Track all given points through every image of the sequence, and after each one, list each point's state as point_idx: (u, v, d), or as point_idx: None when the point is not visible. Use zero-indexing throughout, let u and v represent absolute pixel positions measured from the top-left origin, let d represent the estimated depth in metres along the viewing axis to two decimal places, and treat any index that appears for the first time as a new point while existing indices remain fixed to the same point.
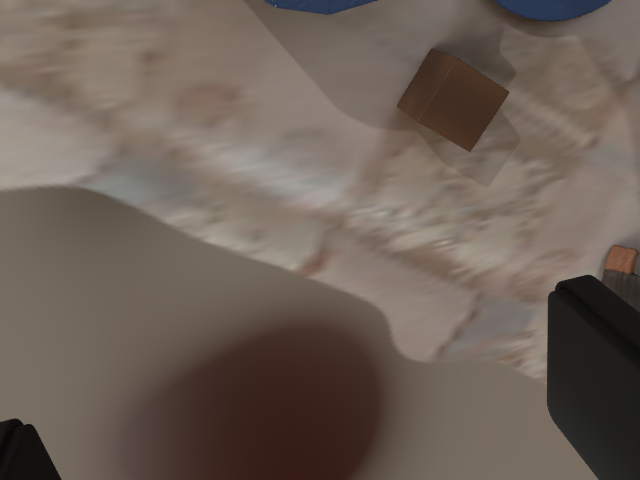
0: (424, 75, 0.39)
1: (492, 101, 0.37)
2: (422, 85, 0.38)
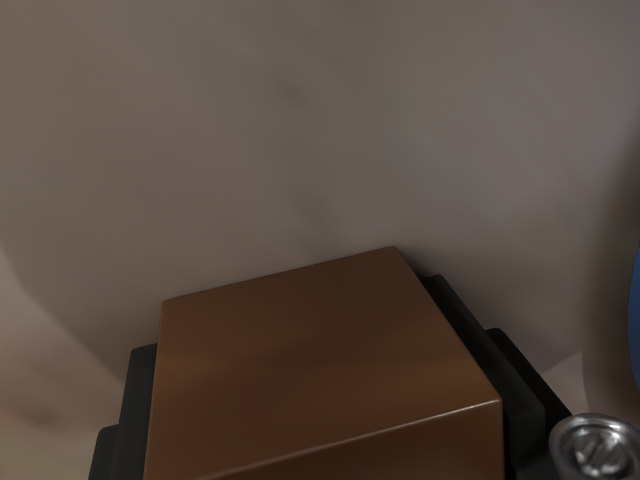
0: (316, 309, 0.09)
1: None
2: (287, 338, 0.09)
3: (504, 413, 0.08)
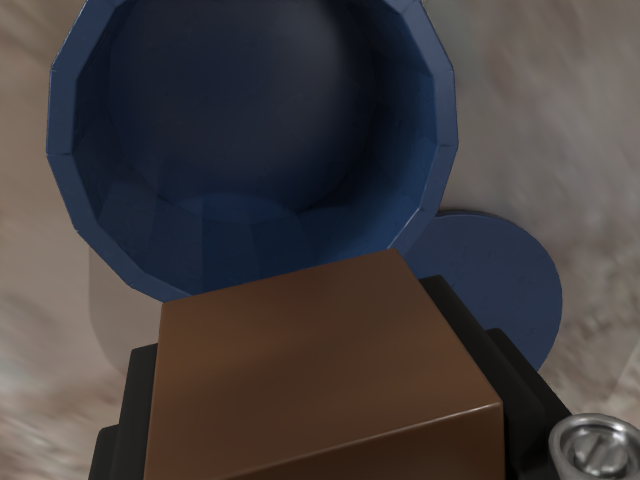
0: (316, 311, 0.09)
1: None
2: (287, 340, 0.09)
3: (504, 413, 0.08)
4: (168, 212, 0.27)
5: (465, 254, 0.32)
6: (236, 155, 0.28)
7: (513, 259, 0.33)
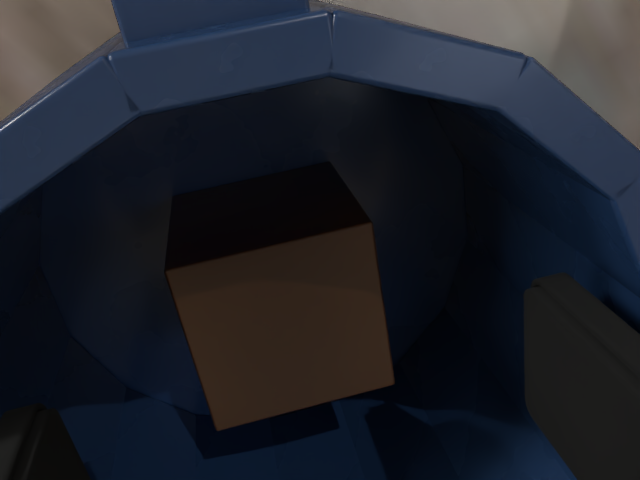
0: (272, 193, 0.15)
1: (351, 373, 0.14)
2: (252, 207, 0.14)
3: None
4: (142, 427, 0.17)
5: None
6: None
7: None
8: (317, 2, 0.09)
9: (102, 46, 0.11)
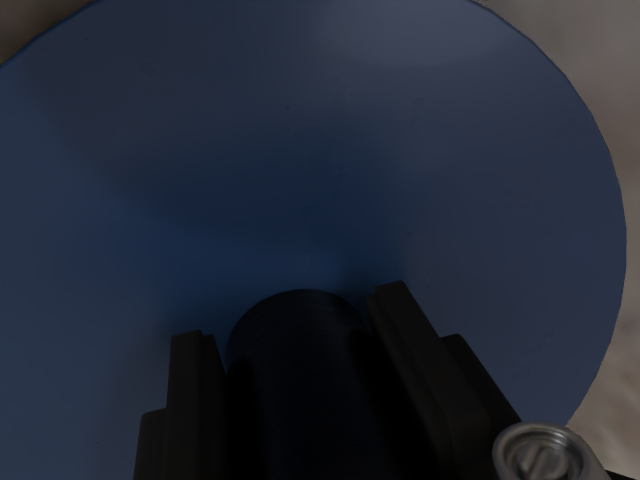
0: None
1: None
2: None
3: (450, 421, 0.08)
4: None
5: (341, 106, 0.10)
6: None
7: (492, 131, 0.11)
8: None
9: None
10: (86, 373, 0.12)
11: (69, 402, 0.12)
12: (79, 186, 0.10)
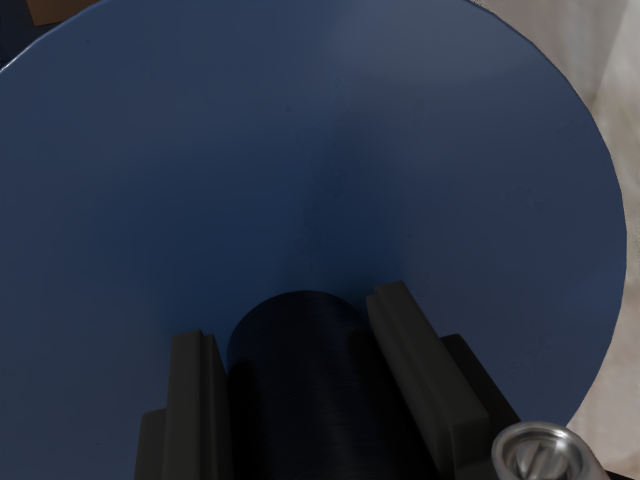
0: None
1: None
2: None
3: (449, 420, 0.08)
4: None
5: (342, 108, 0.10)
6: None
7: (492, 133, 0.11)
8: None
9: None
10: (86, 374, 0.12)
11: (70, 403, 0.12)
12: (80, 188, 0.10)
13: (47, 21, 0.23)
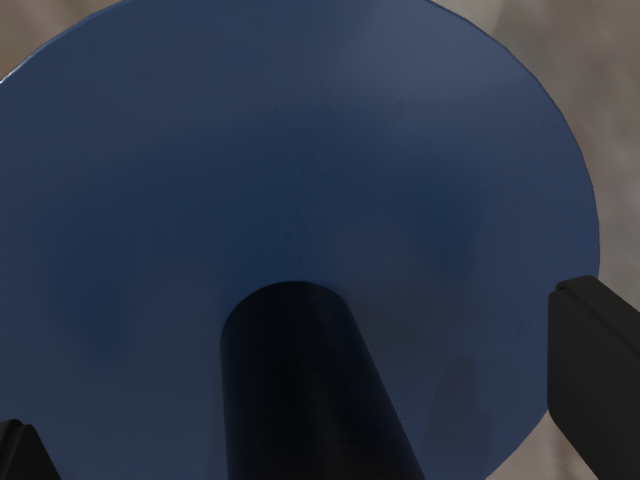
0: None
1: None
2: None
3: None
4: None
5: (326, 109, 0.11)
6: None
7: (469, 131, 0.12)
8: None
9: None
10: (88, 360, 0.12)
11: (73, 389, 0.12)
12: (82, 184, 0.11)
13: None
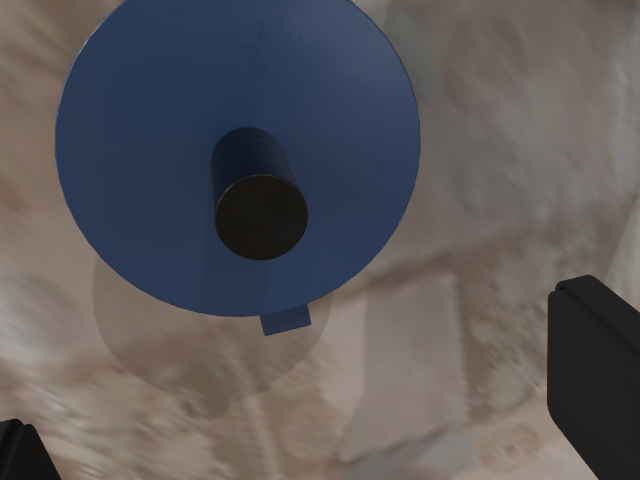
0: None
1: None
2: None
3: None
4: None
5: (263, 33, 0.22)
6: None
7: (337, 46, 0.23)
8: None
9: None
10: (142, 168, 0.23)
11: (133, 184, 0.24)
12: (143, 68, 0.22)
13: None
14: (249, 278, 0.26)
